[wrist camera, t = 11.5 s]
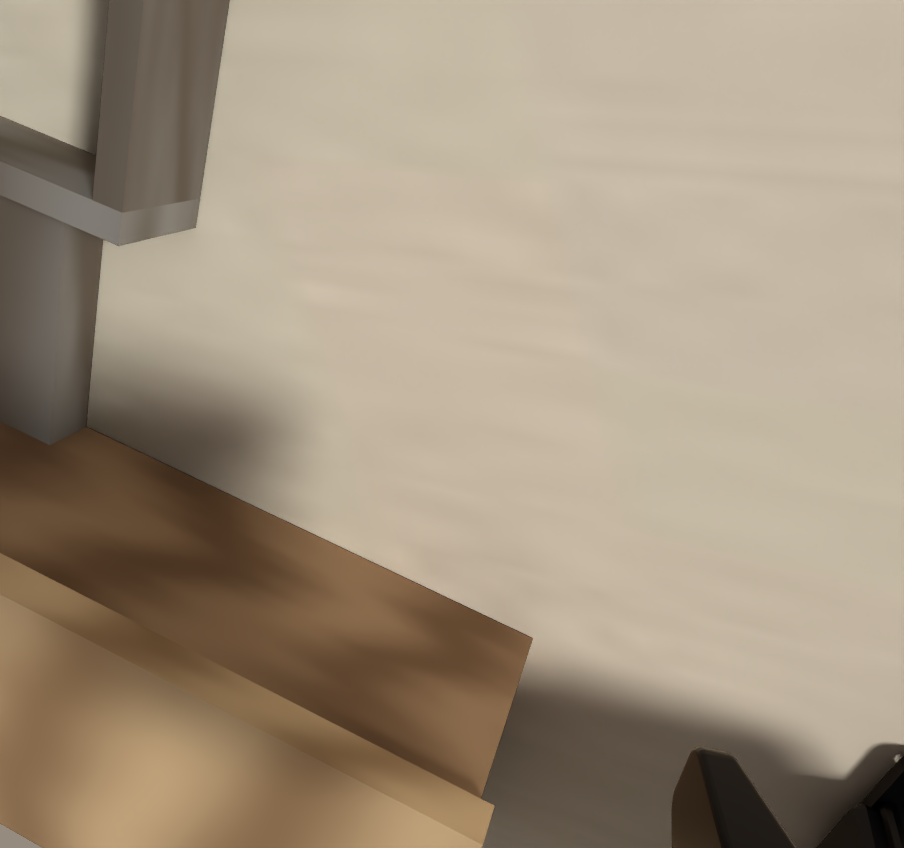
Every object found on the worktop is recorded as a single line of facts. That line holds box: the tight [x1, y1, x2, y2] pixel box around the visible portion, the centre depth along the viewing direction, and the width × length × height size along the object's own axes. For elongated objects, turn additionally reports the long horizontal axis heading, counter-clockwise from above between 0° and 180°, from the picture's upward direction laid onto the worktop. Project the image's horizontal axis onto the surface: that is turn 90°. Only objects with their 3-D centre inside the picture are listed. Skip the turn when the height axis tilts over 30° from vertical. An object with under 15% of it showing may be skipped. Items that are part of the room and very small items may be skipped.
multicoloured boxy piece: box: [0, 0, 533, 848], centre depth 18 cm, size 22×25×7 cm
